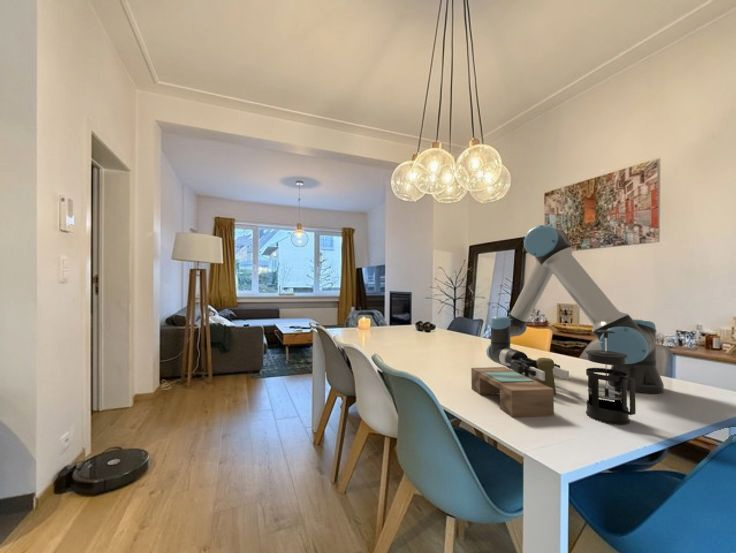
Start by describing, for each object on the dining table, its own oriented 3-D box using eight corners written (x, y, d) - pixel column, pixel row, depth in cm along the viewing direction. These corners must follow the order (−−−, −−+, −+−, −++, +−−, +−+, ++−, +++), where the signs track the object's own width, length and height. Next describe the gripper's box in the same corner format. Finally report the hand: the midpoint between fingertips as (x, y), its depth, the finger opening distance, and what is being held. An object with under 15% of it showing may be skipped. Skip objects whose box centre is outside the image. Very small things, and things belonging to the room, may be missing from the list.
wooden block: (471, 388, 110) (471, 367, 110) (504, 387, 111) (504, 366, 111) (512, 417, 86) (511, 389, 86) (553, 415, 87) (553, 387, 88)
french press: (575, 412, 90) (574, 328, 90) (599, 408, 93) (597, 327, 94) (620, 430, 79) (619, 334, 79) (646, 424, 82) (644, 332, 82)
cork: (560, 395, 104) (559, 360, 104) (541, 394, 104) (540, 360, 104) (550, 389, 110) (549, 356, 110) (532, 388, 110) (531, 356, 110)
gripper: (538, 368, 126) (585, 386, 104) (489, 370, 124) (525, 389, 101) (538, 349, 127) (585, 363, 104) (488, 350, 124) (525, 364, 101)
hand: (555, 375), depth 102 cm, fingers open, 8 cm apart
